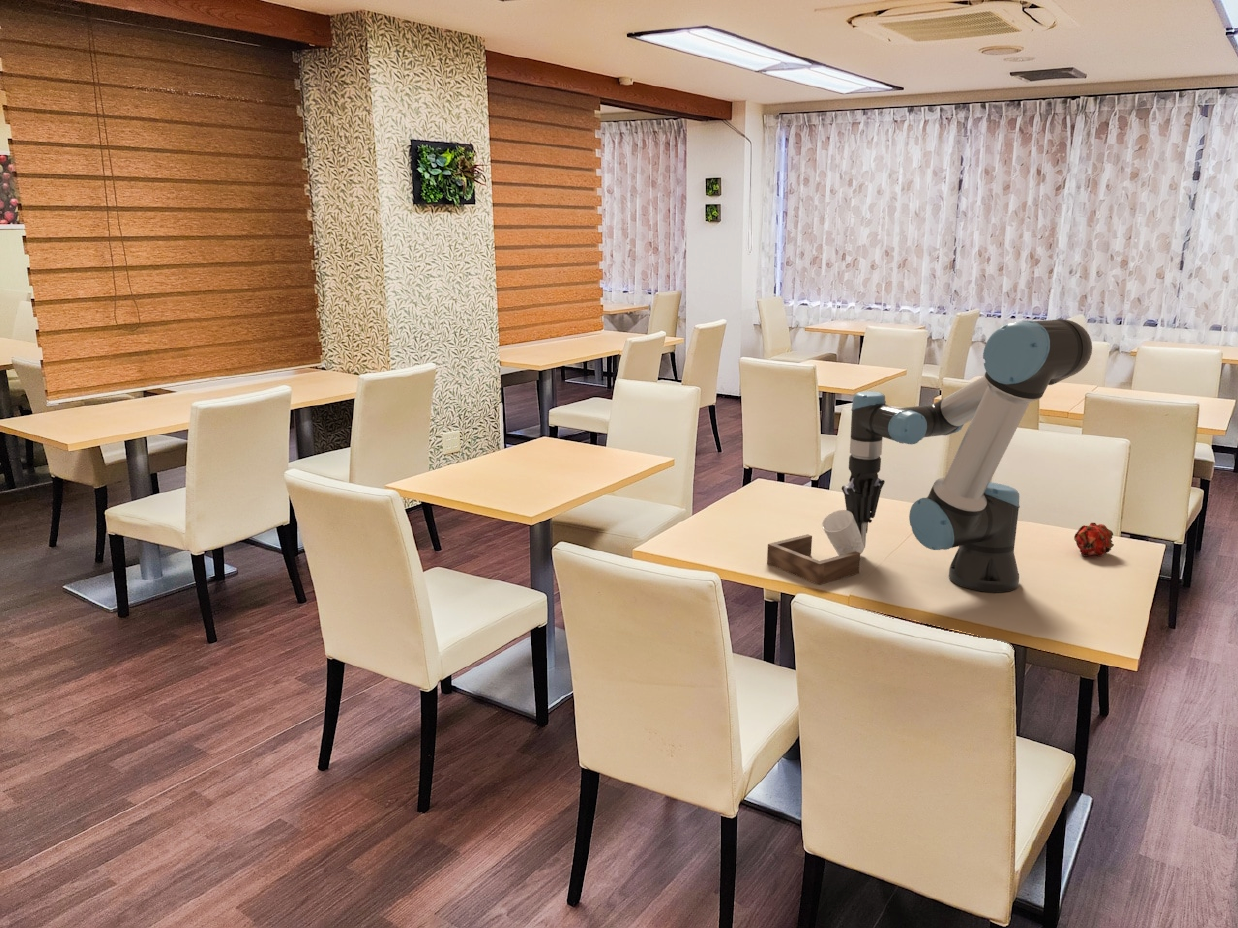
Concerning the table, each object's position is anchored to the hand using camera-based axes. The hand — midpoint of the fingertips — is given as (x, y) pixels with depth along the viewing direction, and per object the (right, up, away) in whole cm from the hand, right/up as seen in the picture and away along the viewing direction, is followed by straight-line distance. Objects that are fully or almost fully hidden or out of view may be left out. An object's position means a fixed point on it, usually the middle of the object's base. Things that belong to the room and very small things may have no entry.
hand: (859, 546), depth 232 cm
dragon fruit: (+59, -2, +1) cm, 59 cm away
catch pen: (-13, -4, -9) cm, 17 cm away
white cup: (-2, -1, -2) cm, 3 cm away
